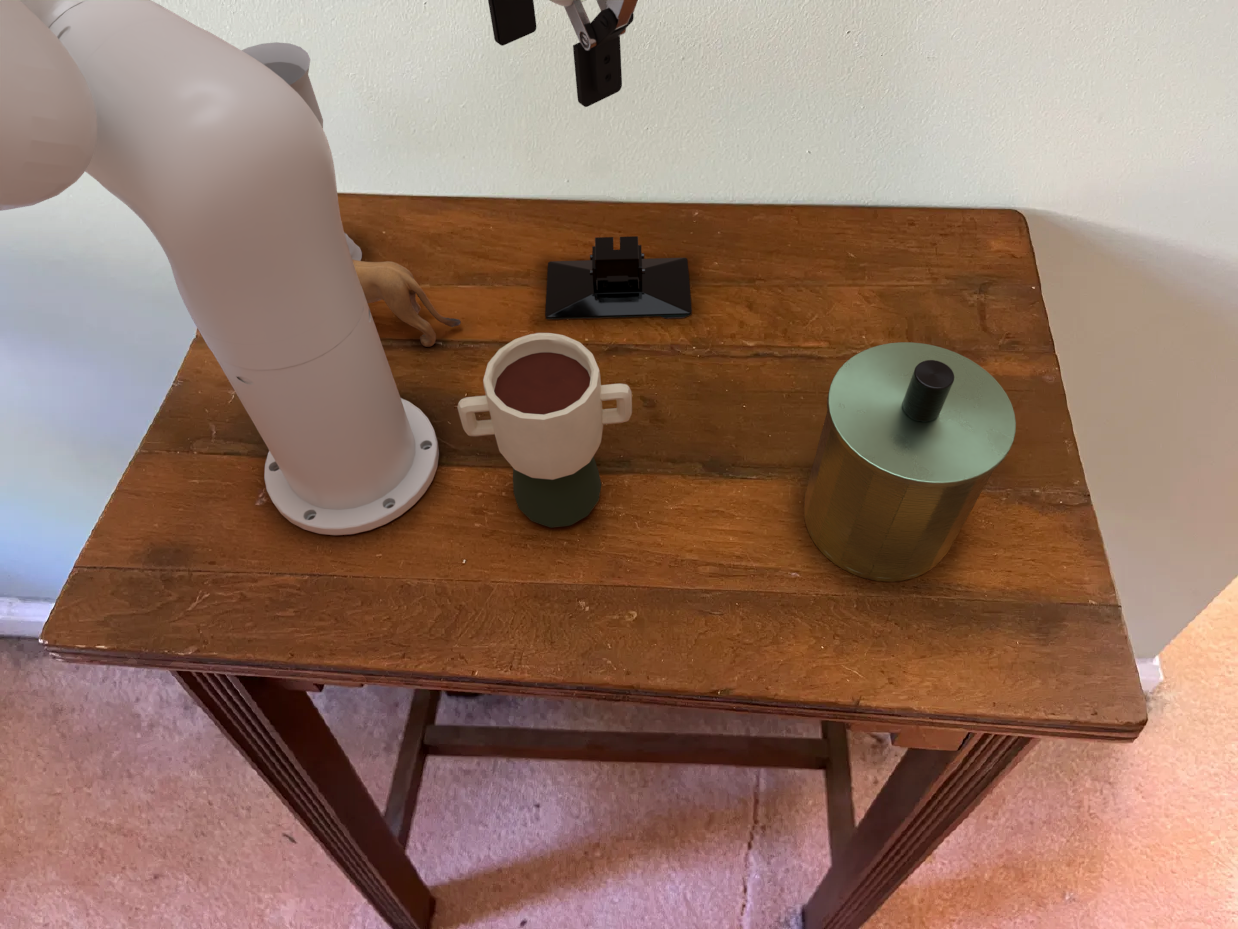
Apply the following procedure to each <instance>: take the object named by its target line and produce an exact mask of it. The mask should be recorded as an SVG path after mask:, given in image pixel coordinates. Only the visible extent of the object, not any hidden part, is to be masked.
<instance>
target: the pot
mask: <svg viewBox="0 0 1238 929" xmlns="http://www.w3.org/2000/svg"><path fill="white" fill-rule="evenodd" d="M993 472H994V470H992V471H991V472H990V473H988V474H987V475H985V476H983V477H981V478H979V479H977V480H975V481H972V482H969V483H966V484H962V485H957V486H951V487H923V486H915V485H911V484H906V483H902V482H899V481H896V480H893V479H890V478H888V477H886V476H883V475H881V474H879V473H877V472H875V471H873V470H872V469H870V468H868V467H867V466H865V465H864V464H863V463H861V462H860V461H858V460H857V459H856V458H855V457H854V456H853V455H852V454H851V453H849V452H848V450H847V449H846V448H845V447H844V446H843V445H842V443H841V442H840V440H839V439H838V437H837V436H836V434H835V432H834V430H833V428H832V426H831V423H830V420H829V417H828V410H827V409H826V413H825V418H824V422H823V426H822V429H821V433H820V437H819V441H818V444H817V448H816V451H815V455H814V460H813V463H812V467H811V470H810V474H809V478H808V482H807V486H806V490H805V493H804V498H803V499H804V503H803V518H804V523H805V526H806V530H807V533H808V534H809V537H810V538H811V540H812V542H813V544H814V545H815V546H816V548H817V550H819V552H820V553H821V554H823V555H824V557H826V558H827V559H828V560H829V561H830V562H832V563H833V565H836V567H838V568H840V569H842V570H844V571H845V572H847V573H849V574H851V575H855V576H856V577H860V578H862V579H866V580H872V581H875V582H876V581H877V582H887V583H888V582H903V581H907V580H912V579H914V578H917V577H921V576H922V575H924V574H926V573H928V572H929V571H931V570H932V569H934V568H935V567H936V566H937V565H938V564H939V563H940V562H941V561H942V560H943V558H944V557H945V556H946V555H947V554H948V553H949V551H950V550H951V548H952V546H953V544H954V542H955V541H956V538H957V537H958V535H959V533H960V531H961V530H962V528H963V526H964V525H965V522H966V521H967V519H968V518H969V515H970V514H971V512H972V510H973V508H974V506H975V504H976V503H977V502H978V500H979V498H980V495H981V494H982V492H983V490H984V488H985V486H986V485H987V483H988V481H989V479H990V478H991V476H992V474H993Z"/></svg>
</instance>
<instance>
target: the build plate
mask: <svg viewBox="0 0 1238 929" xmlns="http://www.w3.org/2000/svg"><path fill="white" fill-rule="evenodd" d="M591 246H592V245H591ZM614 246H615V245H614V236H599V237H596V236H595V237H594V246H592V249H591V250H592V251H591V252H592V253H591V254H589V259H587V260H585V259H584V260H553V261H552V260H551V261H549V262H547V271H546V272H547V275H546V291H545V292H546V294H545V311H544V316H545V319H546V320H547V321H548V320H585V319H587V320H588V319H618V318H619V319H621V318H623V319H625V318H658V317H660V318H663V319H666V320H667V319H668V320H669V319H685V318H687V317H690V316H692V314H693V307H692V297H691V296H692V295H691V285H690V274H689V264H688V261H689V260H688V258H687V257H658V258H645V253H644V252H642V244H639V236H637V235H636V236H635V235H631V236H629V235H628V236H619V249H614V248H615V247H614Z"/></svg>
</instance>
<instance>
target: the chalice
mask: <svg viewBox="0 0 1238 929" xmlns="http://www.w3.org/2000/svg"><path fill="white" fill-rule="evenodd" d="M240 50H241V51H243V52H245V53H246V54H248V55H250V56H251V57H253V58H255V59H256V60H258V61H259V62H261V63H262V64H264V65H265V66H266V67H268V68H269V69H271V70H272V71H273V72H274V73H276V74H277V75H278V76H279V77H281V78H282V79H283V80H284V81H285V82H286V83H288V84H289V85H290V86H291V87H292V88H293V89H294V90H295V91H296V92H297V93H298V94H299V95H300V96H301V97H302V99H303V100H304V101H305V102H306V103H307V105H308V106H309V107H310V109H311V110H312V112H313V113H314V114H315V116H316V117H317V119H318V121H319V122H320V124H321V126H322V128H323V129H324V118H323V115H322V112H321V109H320V107H319V106H320V105H319V104H318V100H317V98H316V94H315V91H314V87H313V85H312V82H311V79H310V75H309V72H310V65H311V58H310V56H309V52H308V51H306V50H305V49H303V47H302V46H298V45H296V44H293V43H290V42H289V43H288V42H277V41H276V42H275V41H274V42H266V43H259V44H256V45H252V46H249V47H245V48H244V49H240ZM344 234H345V238H346V241H347V245H348V248H349V252H350V255H351V258H352V260H358V261H362V259H363V251H362V249H361V247H360V246H359V245H358V244H356V243H355V242H354V240H353V239H352V238H351V237H350V236H349V235H348V234H347V233H346V232H345V231H344Z"/></svg>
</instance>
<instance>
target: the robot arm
mask: <svg viewBox="0 0 1238 929" xmlns="http://www.w3.org/2000/svg"><path fill="white" fill-rule="evenodd" d="M549 1H550V2H551V3H554V4H555V5H558V6H561V7H563V8H564V10H565V12H566V14H567V17H568V20H569V22H570V23H571V26H572V28H573V31H574V33H575V35H576V37H577V39H578V41H579V42H576V43H575V44H573V45H572V51H573V62H574V73H575V75H574V76H575V86H576V96H577V97H576V98H577V102H578V103H579V104H580V105H581V106H583V107H584V108H587V107H588V108H589V107H590V106H592V105H594V104H596V103H599V102H600V101H603V100H605V99H606V98H608V97H610V96H613V95H615V94H617V93H619V92H620V91H621V89H622V86H623V75H622V74H623V73H622V56H621V55H622V54H621V52H622V51H621V36H623V35H625V34H626V32H627V28H628V27H629V26H630V25H631V24H632V23H633V21H634V18H635V15H634V14H635V13H634V12H635V9H636V7H637V3H638V1H639V0H595V1H596V3H597V5H598V8H599V10H600V11H599V13H598V14H597V15H596V16H595V17H594V19H593V20H591V21H590V19H589V17H588V14H587V11H586V10H585V7H584V5H583V3H584V2H585V1H587V0H549ZM487 2H488V9H489V14H490V20H491V21H490V22H491V27H492V31H493V38H494V41H495V43H497V44H498V45H500V46H505V45H508V44H510V43H513V42H515V41H517V40H519V39H522V38H524V37H526V36H529V35H530V34H533V33H535V32H536V31H537V18H536V10H535V3H534V0H487ZM241 50H242V49H240V48H239V47H236V46H234V45H233V44H231V43H229V42H228V41H226V40H224V39H222V38H220V37H219V36H217V35H216V34H214V33H212V32H210V31H209V30H206V29H204V28H202V27H199V26H198V25H195V24H194V23H192V22H191V21H189V20H187V19H185V18H184V17H182V16H180V15H179V14H177V13H175V12H174V11H171V10H170V9H168V8H166V7H164V6H163V5H160V4H159V3H157V2H155V1H153V0H0V211H9V210H14V209H20V208H26V207H31V206H34V205H38V204H40V203H42V202H44V201H47V200H49V199H52V198H55V197H57V196H59V195H60V194H62V193H63V192H65V191H66V190H67V189H69V188H70V187H71V186H73V185H74V184H75V183H77V182H78V181H79V179H80V178H81V177H82V176H83V175H84V173H87V174H88V175H89V176H90V177H92V178H93V179H94V180H96V182H98V183H99V184H100V185H101V186H102V187H103V188H104V189H105V190H106V191H108V192H109V193H110V194H112V195H113V196H114V197H116V198H117V199H118V200H120V202H122V203H123V204H125V205H126V206H127V207H128V208H129V210H131V211H132V212H133V213H134V214H135V215H136V216H137V217H138V218H139V219H140V220H141V221H142V222H143V223H144V225H145V226H146V227H147V228H148V229H149V231H150V232H151V233H152V235H153V237H155V239H156V240H157V242H158V244H159V245H160V247H161V249H162V251H163V252H164V254H165V255H166V258H167V260H168V263H169V264H170V268H171V272H172V275H173V278H174V282H175V285H176V287H177V290H178V292H179V295H180V297H181V300H182V301H183V304H184V306H185V308H186V309H187V312H188V313H189V315H190V318H191V319H192V321H193V323H194V325H195V327H196V328H197V330H198V332H199V333H200V335H201V337H202V339H203V340H204V342H205V344H206V346H207V348H208V349H209V350H210V351H211V353H212V354H213V356H214V358H215V360H216V361H217V363H218V365H219V366H220V368H221V370H222V372H223V374H224V375H225V377H226V378H227V380H228V382H229V383H230V385H231V387H232V389H233V391H234V392H235V394H236V395H237V398H238V399H239V401H240V403H241V404H242V406H243V407H244V410H245V411H246V413H247V414H248V416H249V418H250V420H251V422H252V423H253V425H254V427H255V428H256V430H257V432H258V434H259V435H260V437H261V439H262V440H263V442H264V444H265V447H267V449H268V452H267V455H266V459H265V463H264V474H263V475H264V476H263V477H264V478H263V479H264V483H265V488H266V489H265V490H266V492H267V495H268V496H269V498H270V500H271V502H272V503H273V504H274V506H275V508H276V509H277V511H278V512H279V513H280V514H281V515H282V516H283V517H284V518H285V519H286V520H288V522H290V523H291V524H293V525H295V526H297V527H298V528H301V529H302V530H304V531H308V532H311V533H315V534H319V535H330V536H343V535H344V536H347V535H355V534H359V533H364V532H368V531H372V530H374V529H376V528H379V527H382V526H384V525H387V524H389V523H390V522H392V521H394V520H395V519H397V518H399V517H401V516H402V515H403V514H405V513H406V512H407V511H408V510H409V509H411V508H412V507H413V506H414V505H416V504H417V503H418V501H419V500H420V499H421V498H422V497H423V496H424V495H425V493H426V492H427V490H428V489H429V487H430V485H432V484H431V483H432V482H433V480H434V477H435V475H436V472H437V469H438V466H439V459H440V450H439V449H440V448H439V440H438V437H437V435H436V432H435V429H434V427H433V425H432V423H431V421H430V419H429V417H428V416H427V415H426V414H425V413H424V412H423V411H422V410H421V409H420V408H419V407H417V406H416V405H414V404H413V403H412V402H411V401H409V400H407V399H404V398H402V397H401V395H400V393H399V390H398V386H397V383H396V380H395V378H394V375H393V373H392V369H391V367H390V364H389V360H388V358H387V355H386V352H385V350H384V346H383V344H382V341H381V338H380V335H379V332H378V330H377V327H376V323H375V321H374V318H373V315H372V313H371V309H370V306H369V303H367V301H366V298H365V295H364V292H363V289H362V286H361V284H360V282H359V279H358V276H357V273H356V270H355V267H354V264H353V261H352V258H351V255H350V252H349V248H348V245H347V241H346V238H345V234H344V232H345V231H344V225H343V222H342V218H341V210H340V206H339V205H340V204H339V196H338V195H339V194H338V187H337V186H338V185H337V177H336V170H335V163H334V158H333V154H332V153H333V152H332V149H331V147H330V143H329V140H328V137H327V134H326V132H325V130H324V127H323V128H322V126H321V124H320V122H319V121H318V119H317V117H316V116H315V114H314V113H313V112H312V110H311V109H310V107H309V106H308V105H307V103H306V102H305V101H304V100H303V99H302V97H301V96H300V95H299V94H298V93H297V92H296V91H295V90H294V89H293V88H292V87H291V86H290V85H289V84H288V83H286V82H285V81H284V80H283V79H282V78H281V77H279V76H278V75H277V74H276V73H274V72H273V71H272V70H271V69H269V68H268V67H266V66H265V65H264V64H262V63H261V62H259V61H258V60H256V59H255V58H253V57H251V56H250V55H248V54H246V53H245V52H243V51H241Z"/></svg>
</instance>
